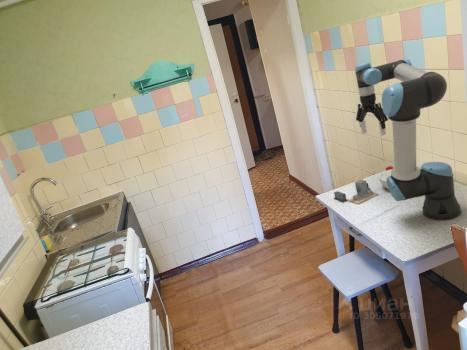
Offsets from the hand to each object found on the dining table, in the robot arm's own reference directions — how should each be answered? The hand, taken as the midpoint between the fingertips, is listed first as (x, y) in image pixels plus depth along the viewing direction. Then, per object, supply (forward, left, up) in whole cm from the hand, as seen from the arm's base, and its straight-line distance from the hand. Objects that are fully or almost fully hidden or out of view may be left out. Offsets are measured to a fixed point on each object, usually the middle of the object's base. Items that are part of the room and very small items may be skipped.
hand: (373, 134), depth 197 cm
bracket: (+6, -12, -31) cm, 34 cm away
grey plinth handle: (+7, +15, -31) cm, 35 cm away
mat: (-2, +15, -31) cm, 34 cm away
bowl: (-7, -5, -31) cm, 32 cm away
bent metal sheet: (-2, +15, -30) cm, 34 cm away
